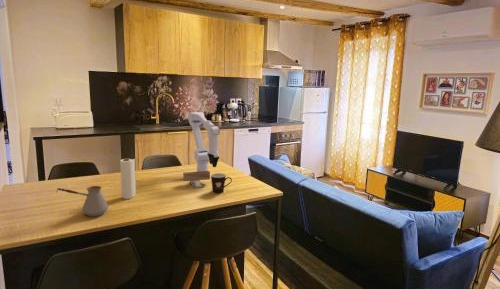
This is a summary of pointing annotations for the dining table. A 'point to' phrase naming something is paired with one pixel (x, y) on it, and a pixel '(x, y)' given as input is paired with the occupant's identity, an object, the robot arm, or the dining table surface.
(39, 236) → the dining table surface
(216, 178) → the coffee mug
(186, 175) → the walnut bar
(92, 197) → the coffee pot
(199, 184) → the ridge
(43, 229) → the dining table surface
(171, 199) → the dining table surface
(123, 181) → the paper towel roll
